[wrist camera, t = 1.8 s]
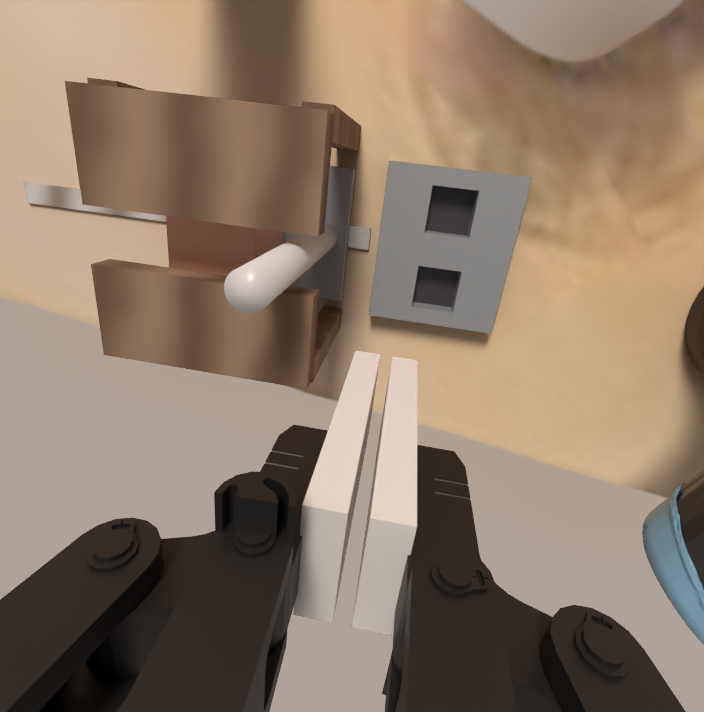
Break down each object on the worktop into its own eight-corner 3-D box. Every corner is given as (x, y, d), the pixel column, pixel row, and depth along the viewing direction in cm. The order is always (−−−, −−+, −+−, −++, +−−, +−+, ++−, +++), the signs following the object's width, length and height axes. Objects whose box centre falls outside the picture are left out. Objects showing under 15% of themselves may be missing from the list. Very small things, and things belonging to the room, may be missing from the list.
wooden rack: (383, 128, 37) (363, 103, 24) (358, 330, 45) (332, 399, 31) (7, 85, 40) (-203, 42, 27) (44, 281, 48) (-103, 325, 34)
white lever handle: (355, 169, 38) (291, 166, 19) (342, 297, 43) (280, 400, 24) (186, 148, 40) (-36, 126, 20) (192, 275, 45) (18, 354, 25)
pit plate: (526, 177, 37) (532, 177, 35) (488, 326, 43) (491, 333, 41) (390, 161, 38) (389, 160, 36) (370, 309, 44) (368, 315, 42)
